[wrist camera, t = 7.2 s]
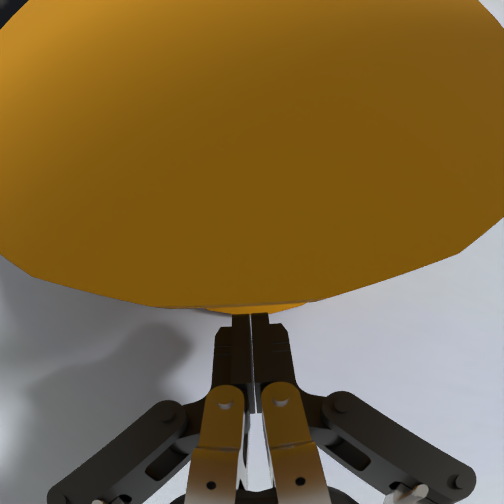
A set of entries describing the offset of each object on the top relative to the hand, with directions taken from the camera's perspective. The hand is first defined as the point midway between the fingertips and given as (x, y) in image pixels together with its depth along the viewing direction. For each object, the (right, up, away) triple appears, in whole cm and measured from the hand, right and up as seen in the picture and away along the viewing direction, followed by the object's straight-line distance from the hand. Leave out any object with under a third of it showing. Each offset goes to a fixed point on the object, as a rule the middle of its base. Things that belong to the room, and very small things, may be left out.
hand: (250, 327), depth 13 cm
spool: (0, +8, +7) cm, 11 cm away
